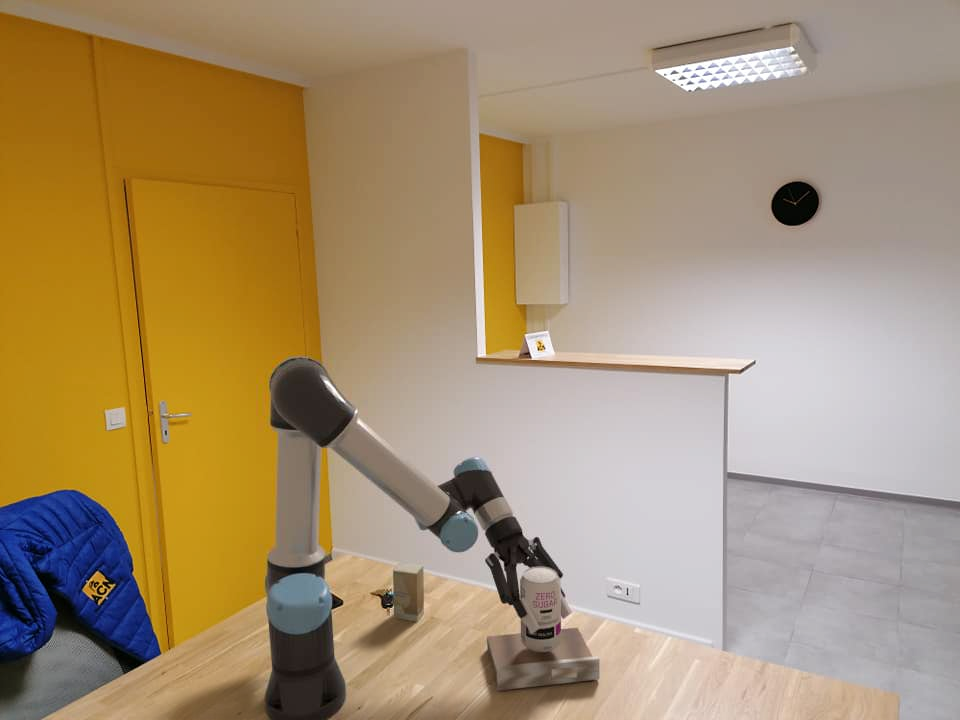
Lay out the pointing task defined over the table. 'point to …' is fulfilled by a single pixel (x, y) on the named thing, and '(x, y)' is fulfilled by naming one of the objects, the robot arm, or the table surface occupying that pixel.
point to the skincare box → (408, 591)
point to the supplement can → (542, 608)
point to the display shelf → (541, 661)
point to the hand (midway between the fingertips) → (551, 623)
